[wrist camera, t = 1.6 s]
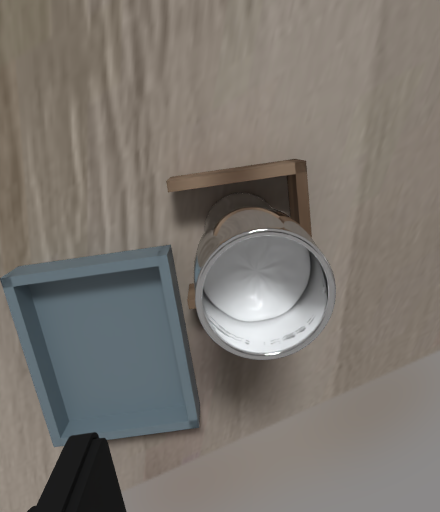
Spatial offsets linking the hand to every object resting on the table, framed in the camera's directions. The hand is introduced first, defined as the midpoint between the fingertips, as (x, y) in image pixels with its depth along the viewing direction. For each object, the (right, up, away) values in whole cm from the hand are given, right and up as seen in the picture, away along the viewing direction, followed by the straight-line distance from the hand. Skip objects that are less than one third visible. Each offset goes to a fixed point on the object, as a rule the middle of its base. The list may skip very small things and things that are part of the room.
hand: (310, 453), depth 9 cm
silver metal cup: (0, +7, +24) cm, 25 cm away
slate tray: (-12, -3, +26) cm, 29 cm away
